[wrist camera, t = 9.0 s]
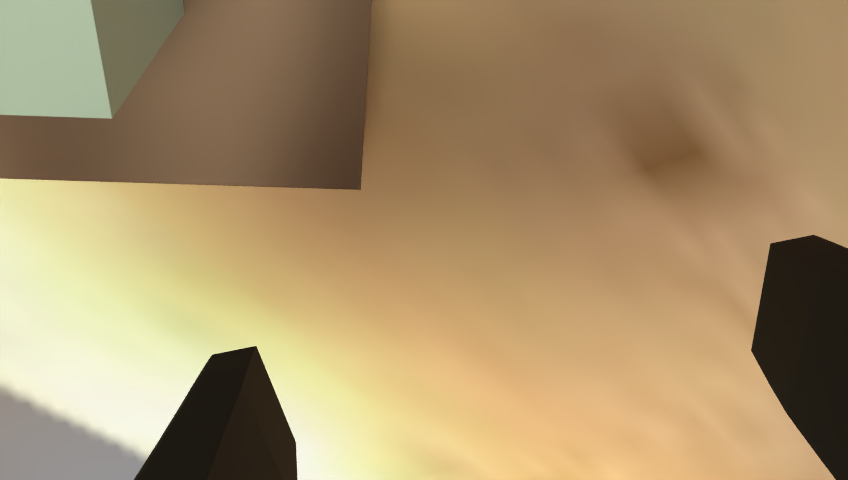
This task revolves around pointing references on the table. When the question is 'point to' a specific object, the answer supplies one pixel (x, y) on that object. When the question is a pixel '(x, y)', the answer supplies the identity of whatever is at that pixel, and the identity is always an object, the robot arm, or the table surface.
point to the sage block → (78, 53)
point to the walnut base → (223, 105)
